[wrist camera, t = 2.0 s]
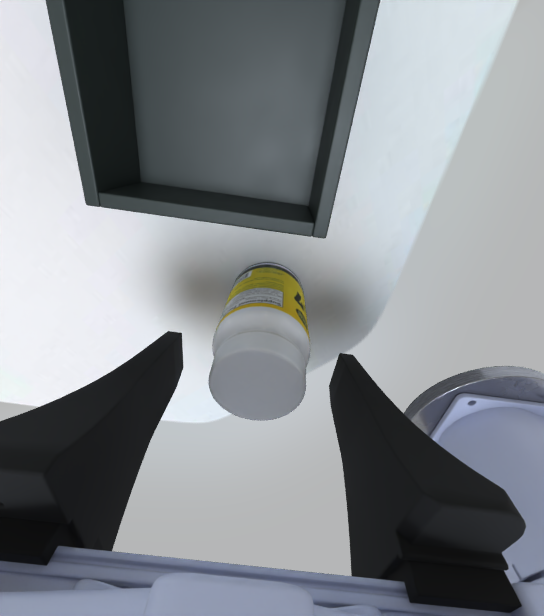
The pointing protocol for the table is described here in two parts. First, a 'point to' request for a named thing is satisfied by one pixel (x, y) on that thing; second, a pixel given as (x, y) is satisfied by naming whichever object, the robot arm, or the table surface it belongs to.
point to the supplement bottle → (261, 345)
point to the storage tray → (213, 105)
